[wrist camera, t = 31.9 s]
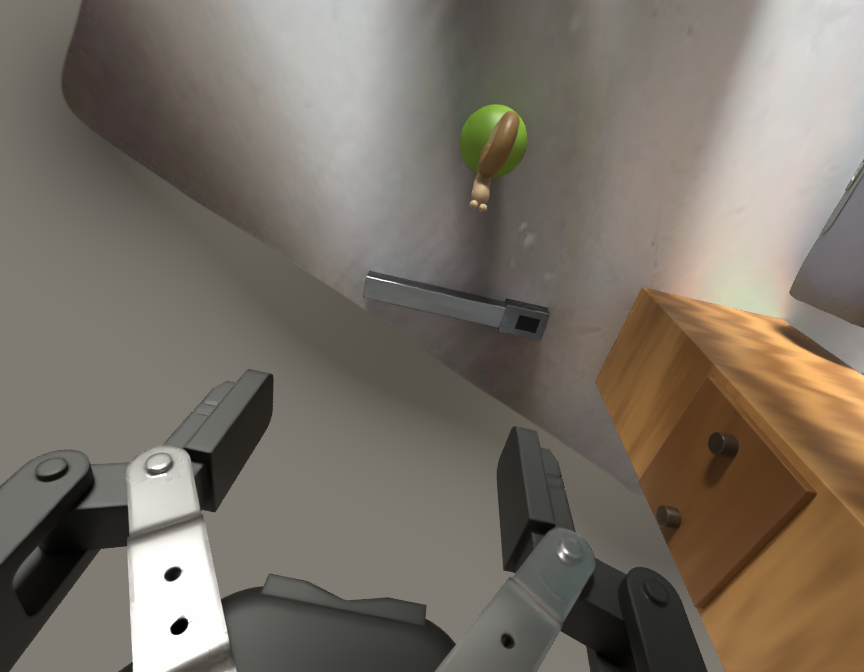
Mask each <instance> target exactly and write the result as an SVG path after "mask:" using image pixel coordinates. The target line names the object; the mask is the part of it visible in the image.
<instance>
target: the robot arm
mask: <svg viewBox="0 0 864 672" xmlns="http://www.w3.org/2000/svg"><path fill="white" fill-rule="evenodd" d="M272 411H273V375H272V374H269V373H265V372H260V371H256V370H251V369H248V370H246V372H245V373H244V374H243V375H242V376H241V377H240V379H239V380H238V381H237V382H236V383H235V382H231V381H226V382H224V383H223V384H221V385H219V386H217V387H215V388H213V389H212V390H211V391H210V392H209V393H208V395H207V396H206V397H205V398H204V399H203V400H202V403H200V404H199V405H198V406H197V407H196V408H195V409H194V412H191V414H190V415H189V416H188V417H187V418H186V419H185V420H184V421H183V423H182V424H181V425H180V426H179V427H178V428H177V429H176V430H175V431H174V433H173V434H172V435H171V436H170V437H169V438H168V439H167V440H166V442H165V443H164V444H163V445H162V446H159V447H154V448H151V449H149V450H146V451H144V452H142V453H140V454H139V455H137V456H136V457H135V458H134V459H133V460H132V461H131V462H125V463H111V464H92V465H91V464H90V461H89V458H88V457H87V455H86V454H84V453H82V452H80V451H76V450H58V451H53V452H49V453H46V454H43V455H41V456H38V457H36V458H34V459H32V460H31V461H29V462H27V463H26V464H25V465H24V466H22V467H21V468H20V469H19V470H18V471H17V472H15V473H14V474H13V475H12V476H11V477H10V478H9V479H8V480H7V481H5V482H4V483H3V484H2V485H1V486H0V672H9V671H10V670H11V668H12V667H13V666H14V664H15V663H16V662H17V660H18V659H19V658H20V656H21V655H22V654H23V652H24V651H25V650H26V648H27V647H28V646H29V644H30V643H31V642H32V640H33V639H34V638H35V636H36V635H37V634H38V632H39V631H40V630H41V628H42V627H43V626H44V624H45V623H46V622H47V620H48V619H49V618H50V616H51V615H52V614H53V612H54V611H55V609H56V608H57V607H58V605H59V604H60V603H61V601H62V600H63V599H64V597H65V596H66V595H67V593H68V592H69V591H70V589H71V588H72V587H73V585H74V584H75V583H76V581H77V580H78V579H79V577H80V576H81V574H82V573H83V572H84V571H85V569H86V568H87V567H88V565H89V564H90V563H91V561H92V560H93V559H94V557H95V556H96V554H97V553H98V552H99V551H100V549H104V548H114V547H123V546H127V554H128V573H129V593H130V613H131V632H132V652H133V662H131V663H130V664H129V665H127V666H126V667H124V668H123V669H122V670H120V671H119V672H537V670H538V669H539V667H540V665H541V663H542V662H543V660H544V658H545V656H546V655H547V653H548V651H549V650H550V648H551V646H552V644H553V643H554V641H555V639H556V637H557V636H558V634H559V632H560V631H561V632H563V633H565V634H567V635H569V636H570V637H572V638H574V639H575V640H577V641H579V642H581V643H582V644H584V645H586V648H587V654H588V659H589V665H590V672H707V669H706V666H705V664H704V661H703V658H702V655H701V653H700V650H699V648H698V645H697V642H696V639H695V637H694V634H693V631H692V628H691V626H690V623H689V621H688V618H687V615H686V613H685V610H684V607H683V604H682V601H681V599H680V597H679V595H678V593H677V592H676V590H675V589H674V588H673V586H672V585H671V584H670V583H669V582H668V581H667V580H666V579H665V578H664V577H662V576H661V575H660V574H658V573H657V572H655V571H653V570H651V569H648V568H644V567H635V568H633V569H631V570H630V571H629V572H628V574H624V573H623V572H621V571H619V570H617V569H615V568H613V567H611V566H609V565H607V564H605V563H603V562H601V561H600V560H598V559H596V558H595V556H594V553H593V551H592V549H591V547H590V546H589V544H588V543H587V542H586V541H585V540H584V539H583V538H582V537H581V536H580V535H578V534H577V533H576V532H575V528H574V524H573V520H572V516H571V512H570V508H569V504H568V500H567V496H566V492H565V490H564V483H563V480H562V479H561V477H562V475H561V472H560V467H559V464H558V462H557V460H556V459H555V457H554V456H553V454H552V453H551V451H550V450H548V449H543V448H540V443H539V438H538V434H537V432H536V431H534V430H530V429H525V428H521V427H515V426H514V427H513V428H512V429H511V431H510V434H509V436H508V439H507V441H506V444H505V446H504V449H503V451H502V454H501V456H500V459H499V462H498V468H497V488H498V501H499V516H500V529H501V543H502V557H503V570H505V571H509V572H514V573H515V575H514V576H513V577H512V578H511V577H509V578H508V579H507V580H506V582H505V583H504V584H503V585H502V587H501V588H500V589H499V590H498V592H497V593H496V594H495V596H494V597H493V598H492V599H491V601H490V602H489V603H488V605H487V606H486V607H485V609H484V610H483V611H482V612H481V613H480V615H479V616H478V617H477V618H476V620H475V621H474V622H473V624H472V625H471V626H470V627H469V629H468V630H467V631H466V632H465V634H464V635H463V636H462V637H461V639H460V640H459V641H458V643H457V644H455V642H454V641H453V640H452V639H451V638H450V637H449V636H448V635H447V634H446V633H445V632H444V631H443V630H442V629H441V628H440V627H438V626H437V625H435V624H434V623H432V622H431V621H429V620H427V619H425V617H426V605H423V604H418V603H413V602H408V601H403V600H398V599H393V598H375V599H361V600H344V599H341V598H339V597H337V596H335V595H334V594H332V593H330V592H328V591H326V590H324V589H322V588H320V587H318V586H316V585H314V584H312V583H310V582H308V581H304V580H299V579H294V578H289V577H284V576H279V575H274V574H269V575H268V577H267V580H266V582H265V585H264V586H262V587H254V588H249V589H245V590H242V591H239V592H236V593H233V594H231V595H229V596H227V597H224V598H223V599H220V594H219V590H218V584H217V579H216V575H215V570H214V565H213V560H212V555H211V550H210V545H209V540H208V535H207V531H206V526H205V521H204V517H203V514H201V510H206V511H211V512H216V510H217V509H218V507H219V506H220V504H221V502H222V500H223V499H224V497H225V496H226V494H227V493H228V491H229V489H230V488H231V486H232V484H233V483H234V481H235V480H236V478H237V476H238V475H239V473H240V471H241V470H242V468H243V467H244V465H245V463H246V462H247V460H248V459H249V457H250V455H251V454H252V452H253V451H254V449H255V447H256V446H257V444H258V442H259V441H260V439H261V437H262V436H263V434H264V433H265V431H266V429H267V427H268V425H269V423H270V420H271V416H272Z"/></svg>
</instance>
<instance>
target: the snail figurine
mask: <svg viewBox="0 0 864 672" xmlns="http://www.w3.org/2000/svg"><path fill="white" fill-rule="evenodd" d="M526 146H527V132H526V128H525V125H524V123H523V121H522V119H521V118H520V116H519V115H518V114H517V113H516V112H515V111H514V110H512V109H510V108H509V107H506V106H503V105H488V106H484V107H482V108H480V109H478V110H477V111H475V112H474V113H473V114H472V115H471V116H470V117H469V118H468V120H467V121H466V123H465V124H464V126H463V129H462V132H461V136H460V151H461V155H462V158H463V160H464V162H465V163H466V165H467V166H468V167H469V169H471V170H472V171H473V172H474V173H476V178H475V180H474V184H473V191H472V194H471V200H472V201H471V202H470V207H472V208H476V207H477V206H479V210H480V211H482V212H485V211H486V210H487V206H486V205H485V204H486V203H487V201H488V200H489V196H490V192H489V190H490V181H491V178H496V177H501V176H503V175H506V174H508V173H509V172H511V171H512V170H513V169H514V168H515V167H516V166H517V165H518V164H519V163H520V161H521V160H522V158H523V156H524V153H525V150H526Z"/></svg>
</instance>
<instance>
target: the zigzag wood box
mask: <svg viewBox="0 0 864 672" xmlns="http://www.w3.org/2000/svg"><path fill="white" fill-rule="evenodd" d="M596 384H597V387H598V389H599V391H600V393H601V396H602V398H603V400H604V402H605V405H606V407H607V409H608V411H609V414H610V416H611V418H612V420H613V422H614V425H615V427H616V429H617V431H618V434H619V436H620V438H621V440H622V443H623V445H624V447H625V449H626V452H627V454H628V456H629V458H630V460H631V463H632V465H633V467H634V469H635V472H636V474H637V476H638V478H639V483H640V485H641V487H642V489H643V492H644V494H645V496H646V498H647V500H648V503H649V505H650V507H651V509H652V512H653V514H654V516H655V519H656V521H657V523H658V525H659V528H660V530H661V532H662V534H663V537H664V539H665V541H666V543H667V546H668V548H669V550H670V552H671V555H672V557H673V559H674V561H675V563H676V566H677V568H678V570H679V573H680V575H681V577H682V579H683V582H684V583H685V586H686V588H687V591H688V593H689V595H690V597H691V599H692V602H693V604H694V606H695V607H696V608H697V610H698V612H699V615H700V617H701V619H702V621H703V624H704V626H705V628H706V630H707V632H708V635H709V637H710V639H711V641H712V644H713V646H714V648H715V650H716V653H717V655H718V657H719V659H720V662H721V664H722V666H723V668H724V671H725V672H864V376H863V375H862V374H860V373H859V372H857V371H856V370H854V369H853V368H852V367H850V366H849V365H847V364H846V363H844V362H843V361H842V360H840V359H839V358H837V357H836V356H834V355H833V354H832V353H830V352H829V351H827V350H826V349H824V348H823V347H822V346H820V345H819V344H817V343H816V342H814V341H813V340H812V339H810V338H809V337H807V336H806V335H804V334H803V333H801V332H800V331H799V330H797V329H796V328H794V327H793V326H791V325H790V324H789V323H787V322H786V321H784V320H781V319H776V318H772V317H768V316H763V315H759V314H755V313H750V312H746V311H742V310H738V309H733V308H729V307H725V306H720V305H716V304H712V303H707V302H703V301H699V300H694V299H690V298H686V297H682V296H677V295H673V294H669V293H664V292H660V291H656V290H651V289H647V288H642V290H641V292H640V294H639V296H638V298H637V300H636V302H635V304H634V306H633V308H632V310H631V312H630V314H629V316H628V318H627V320H626V322H625V324H624V326H623V328H622V330H621V332H620V334H619V336H618V338H617V340H616V342H615V344H614V346H613V348H612V350H611V352H610V354H609V356H608V358H607V360H606V362H605V364H604V366H603V368H602V370H601V372H600V374H599V376H598V378H597V380H596Z"/></svg>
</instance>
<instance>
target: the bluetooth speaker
mask: <svg viewBox="0 0 864 672" xmlns="http://www.w3.org/2000/svg"><path fill="white" fill-rule="evenodd" d="M845 191H846V192H845V194H844V195H843V197H842V199H841V200H840V202H839V203H838V205H837V207H836V208H835V210H834V212H833V213H832V215H831V217H830V218H829V220H828V222H827V223H826V225H825V227H824V228H823V230H822V232H821V234H820V236H819V238H818V239H817V241H816V243H815V244H814V246H813V248H812V249H811V251H810V253H809V254H808V256H807V258H806V260H805V261H804V263H803V265H802V267H801V269H800V271H799V272H798V274H797V276H796V279H795V281H794V283H793V285H792V287H791V290H790V294H791V296H793V297H794V298H795V299H797V300H799V301H801V302H804V303H807V304H810V305H812V306H814V307H816V308H819V309H821V310H823V311H826V312H828V313H831V314H833V315H835V316H837V317H839V318H841V319H844V320H846V321H848V322H850V323H852V324H855V325H857V326H860V327H864V160H863V161H862V163H861V165H860V166H859V168H858V169H857V171H856V173H855V174H854V176H853V178H852V179H851V181H850V183H849V184H848V186H847V188H846V190H845Z"/></svg>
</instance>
